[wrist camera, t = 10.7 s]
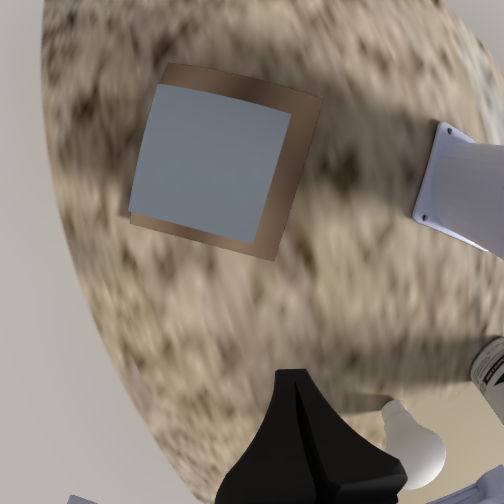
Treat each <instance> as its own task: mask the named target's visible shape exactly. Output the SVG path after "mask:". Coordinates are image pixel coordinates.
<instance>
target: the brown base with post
mask: <svg viewBox="0 0 504 504" xmlns="http://www.w3.org/2000/svg"><path fill="white" fill-rule="evenodd" d="M161 84H164V85H170V86H176V87H182V88H187V89H193V90H198V91H203V92H208V93H213V94H217V95H222V96H226V97H230V98H235V99H239V100H243V101H247V102H251V103H254V104H258V105H262V106H265V107H269V108H272V109H276V110H279V111H283V112H286V113H289V114H292V115H291V118H290V121H289V125H288V128H287V132H286V135H285V138H284V142H283V145H282V148H281V152H280V155H279V158H278V162H277V165H276V168H275V172H274V175H273V178H272V182H271V185H270V188H269V192H268V195H267V198H266V202H265V205H264V208H263V212H262V215H261V219H260V222H259V225H258V229H257V232H256V235H255V239H254V242H253V244H250V243H246V242H242V241H239V240H235V239H231V238H227V237H224V236H220V235H216V234H212V233H209V232H205V231H201V230H198V229H194V228H190V227H186V226H183V225H179V224H175V223H171V222H167V221H164V220H160V219H156V218H152V217H149V216H145V215H141V214H137V213H133V212H132V214H131V220H130V224H133V225H137V226H141V227H144V228H148V229H152V230H156V231H160V232H163V233H167V234H171V235H175V236H179V237H182V238H186V239H190V240H194V241H198V242H201V243H205V244H209V245H213V246H217V247H220V248H224V249H228V250H232V251H236V252H239V253H243V254H247V255H251V256H255V257H259V258H262V259H266V260H270V261H274V260H275V257H276V254H277V250H278V247H279V244H280V241H281V238H282V235H283V232H284V228H285V225H286V222H287V219H288V216H289V212H290V209H291V206H292V203H293V199H294V196H295V193H296V190H297V186H298V183H299V180H300V176H301V173H302V170H303V167H304V163H305V160H306V157H307V153H308V150H309V146H310V143H311V140H312V136H313V133H314V129H315V126H316V122H317V119H318V116H319V112H320V109H321V105H322V102H323V99H321V98H319V97H316V96H313V95H310V94H307V93H303V92H300V91H297V90H294V89H291V88H287V87H284V86H280V85H277V84H273V83H270V82H266V81H262V80H258V79H254V78H250V77H246V76H242V75H237V74H233V73H228V72H223V71H218V70H213V69H208V68H202V67H197V66H190V65H184V64H177V63H170V62H168V64H167V67H166V70H165V74H164V77H163V80H162V83H161Z"/></svg>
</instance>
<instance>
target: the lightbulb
mask: <svg viewBox="0 0 504 504" xmlns="http://www.w3.org/2000/svg"><path fill="white" fill-rule="evenodd" d="M381 414H382V418H383V421H384V423H385V425H384V430H385V433H386V448H385V451H384V452H386V453H388V454H390V455H391V456H393V457H395V458H397V459H399V460H400V462H401V463H402V465H403V467H404V469H405V471H406V474H407V477H408V481H407V482H406V484H405V485H404V487H403V488H402V489H416V488H420V487H422V486H424V485H426V484H428V483H429V482H431V481H432V480H433V479H434V478H435V477H436V476H437V475H438V474H439V472H440V471H441V469H442V467H443V465H444V462H445V458H446V448H445V444H444V442H443V440H442V439H441V438H440V437H439V435H438V434H436V433H434V432H433V431H431V430H429V429H427V428H425V427H423V426H422V425H420V424H419V423H418V422H417V421H416V420H415V419H414V417H413V416H412V414H411V413H410V412H408V411H407V409H406V407H405V406H404V404H403V402H402V401H400V400H393V401H389V402H388V403H387V404H386V405H384V407H383V408H382V410H381Z"/></svg>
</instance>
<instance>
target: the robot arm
mask: <svg viewBox="0 0 504 504" xmlns="http://www.w3.org/2000/svg"><path fill="white" fill-rule="evenodd" d="M447 129H449V131H450V133H449V134H448V132H447ZM424 214H425V218H424V220H422V216H423V215H424ZM412 217H413V219H414V220H415V221H417V222H419V223H421V224H424V225H426V226H429V227H431V228H433V229H436V230H438V231H440V232H443V233H445V234H448V235H450V236H452V237H454V238H457V239H459V240H461V241H463V242H466V243H468V244H470V245H472V246H474V247H477V248H479V249H481V250H483V251H485V252H487V251H489V252H491V253H493V254H495V255H496V256H498V257H500V258H502V259H503V260H504V146H502V145H492V144H480V143H477V142H476V141H474V140H473V139H471V138H470V137H468V136H467V135H465V134H464V133H462V132H461V131H459V130H457V129H456V128H454V127H453V126H451V125H449V124H448V123H446V122H440V123H439V124H438V127H437V131H436V135H435V139H434V143H433V147H432V151H431V155H430V158H429V162H428V165H427V169H426V172H425V176H424V179H423V182H422V186H421V189H420V192H419V195H418V198H417V201H416V204H415V207H414V210H413V213H412ZM407 481H408V477H407V474H406V471H405V469H404V467H403V465H402V463H401V462H400V460H399V459H397V458H395V457H393V456H391V455H390V454H388V453H386V452H384V451H382V450H380V449H379V448H377V447H375V446H374V445H372V444H371V443H370V442H368V441H367V440H366V439H364V438H363V437H362V436H360V435H359V434H358V433H356V432H355V431H354V430H353V429H352V428H351V427H350V426H349V425H348V424H347V423H346V422H345V421H344V420H343V419H342V418H341V417H340V416H339V415H338V414H337V413H336V412H335V411H334V409H333V408H332V407H331V406H330V405H329V403H328V402H327V401H326V399H325V398H324V397H323V395H322V394H321V393H320V391H319V390H318V388H317V387H316V385H315V383H314V382H313V380H312V379H311V377H310V375H309V373H308V371H307V370H306V369H279V370H277V371H275V383H274V392H273V395H272V399H271V402H270V405H269V408H268V410H267V413H266V415H265V418H264V420H263V422H262V424H261V426H260V428H259V430H258V432H257V434H256V435H255V437H254V439H253V440H252V442H251V444H250V445H249V447H248V448H247V450H246V451H245V452H244V454H243V455H242V456H241V458H240V459H239V460H238V462H237V463H236V464H235V465H234V466H233V467H232V469H231V470H230V471H229V472H228V473H227V474H226V475H225V478H224V480H223V481H222V483H221V485H220V487H219V489H218V492H217V494H216V498H215V504H396V503H398V497H397V494H398V492H399V491H400V490H401V489H402V488H403V487H404V485H405V484H406V482H407ZM67 504H97V503H95V502H92V501H89V500H86V499H83V498H81V497H78V496H75V495H70V498H69V501H68V503H67ZM427 504H504V467H503V465H499V466H498V467H496V468H494V469H492V470H490V471H488V472H487V473H485V474H484V475H482V476H481V477H480V478H479V479H478V480H477V482H476V483H474V484H472V485H470V486H468V487H466V488H464V489H461V490H459V491H457V492H454V493H452V494H450V495H447V496H445V497H442V498H440V499H437V500H435V501H432V502H429V503H427Z"/></svg>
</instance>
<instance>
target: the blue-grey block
mask: <svg viewBox="0 0 504 504" xmlns="http://www.w3.org/2000/svg"><path fill="white" fill-rule="evenodd" d="M291 115H292V114H289V113H286V112H283V111H279V110H276V109H272V108H269V107H265V106H262V105H258V104H254V103H251V102H247V101H243V100H239V99H235V98H230V97H226V96H222V95H217V94H213V93H208V92H203V91H198V90H193V89H187V88H182V87H176V86H170V85H164V84H158V85H157V88H156V92H155V95H154V98H153V102H152V105H151V109H150V112H149V116H148V120H147V124H146V128H145V131H144V135H143V140H142V144H141V148H140V152H139V157H138V161H137V166H136V171H135V176H134V181H133V186H132V191H131V197H130V202H129V208H128V211H129V212H133V213H137V214H141V215H145V216H149V217H152V218H156V219H160V220H164V221H167V222H171V223H175V224H179V225H183V226H186V227H190V228H194V229H198V230H201V231H205V232H209V233H212V234H216V235H220V236H224V237H227V238H231V239H235V240H239V241H242V242H246V243H250V244H253V242H254V239H255V235H256V232H257V229H258V225H259V222H260V219H261V215H262V212H263V208H264V205H265V202H266V198H267V195H268V192H269V188H270V185H271V182H272V178H273V175H274V172H275V168H276V165H277V162H278V158H279V155H280V152H281V148H282V145H283V142H284V138H285V135H286V132H287V128H288V125H289V121H290V118H291Z"/></svg>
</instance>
